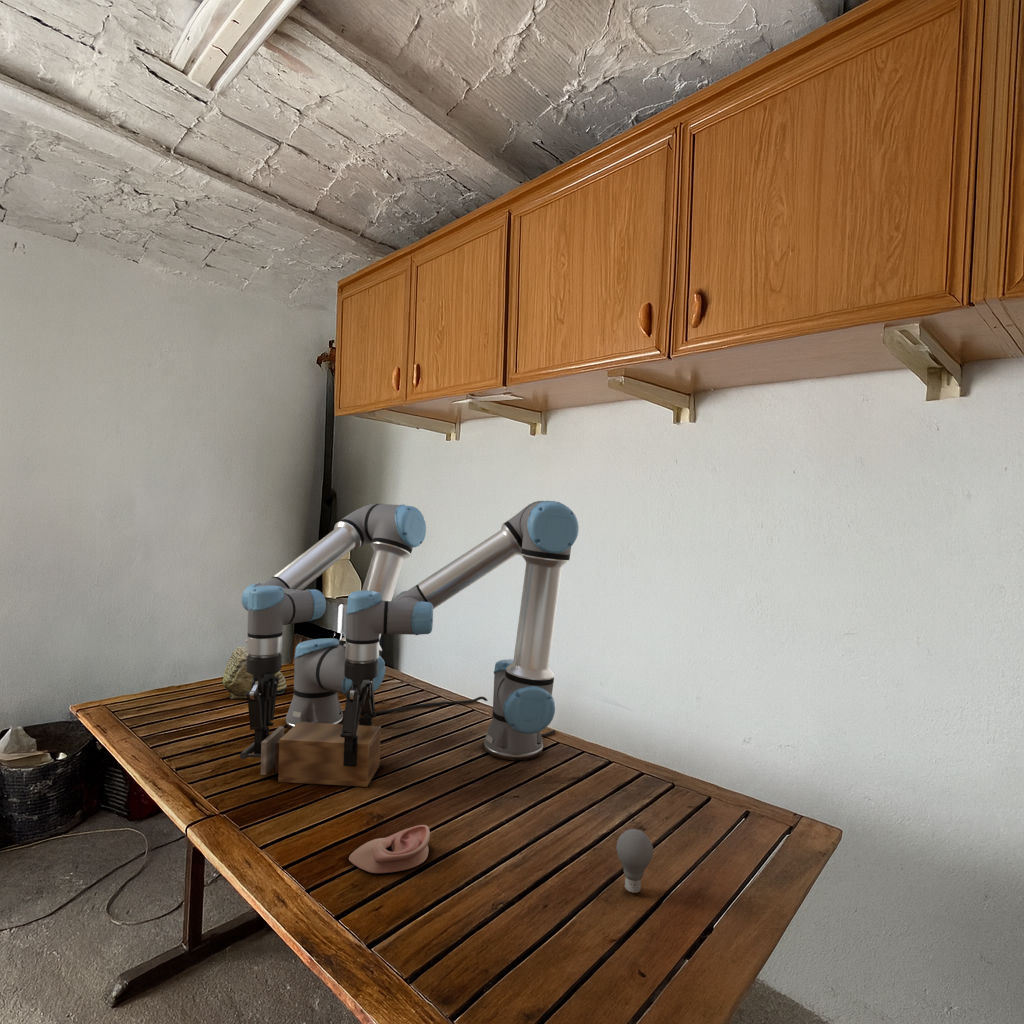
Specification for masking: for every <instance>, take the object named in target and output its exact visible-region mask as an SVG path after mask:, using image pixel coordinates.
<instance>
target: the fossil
mask: <svg viewBox="0 0 1024 1024" xmlns="http://www.w3.org/2000/svg"><path fill="white" fill-rule="evenodd" d="M248 655H249V654H248V653H247V646H246V647H245V646H238V647H237V648H236V649H235V650H233V651H232V653H231V656H230V657H229V659H228V660H227V663H226V666H225V668H224V671H223V675H222V676H223V677H222V685H223V687H224V688H225V690H226V691H228V693H229V698H230V699H247V697H246V693H247V691H251V690H252V687H251V685H252V680H253V675H252V674H250V673H248V672H247V671H246V660H247V656H248ZM275 677H279V683H278V687H277V694H276V695H281V694H284V693H285V691H286V689H287V687H288V686H287V680H286V678H285V676H284V674H283V673H282V672H281V670H280V671H278V672H276V673H275Z"/></svg>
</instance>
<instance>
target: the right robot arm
mask: <svg viewBox="0 0 1024 1024" xmlns="http://www.w3.org/2000/svg"><path fill="white" fill-rule="evenodd" d="M579 526H580V525H579V520H578V518H577V516H576V514H575V512H574V511H573V510H572V509H571V508H570V507H569V506H567V505H566V504H564V503H562V502H560V501H555V500H537V501H533V502H532V503H529V504H528V505H526V506H525V507H524V508H522V509H521V510H520V511H519V512H517V513H516V514H515V515H514V516H512V517H511V518H509V519H508V520H506V521H505V522H503V523H502V524H501V527H500V530H498V531H497V532H496V533H494V534H492V535H491V536H489V537H488V538H486V539H484V540H483V541H481V542H480V543H479V544H477V545H475V546H474V547H472V548H471V549H469V550H467V551H466V552H465V553H463V554H461V555H459V556H458V557H457V558H454V560H452V561H450V562H449V563H448V564H446V565H445V566H443V567H441V568H439V569H438V570H437V571H435V572H434V573H432V574H431V575H429V576H427V577H426V578H424V579H423V580H421V581H420V582H418V583H417V584H416V585H414V586H412V587H411V588H409V589H408V590H404V591H402V592H401V591H400V593H399V594H397V595H396V597H395V598H394V599H393V600H391V601H383V600H382V598H381V594H380V593H379V592H376V591H362V590H356V591H352V592H350V594H348V597H347V604H346V613H345V614H346V615H345V617H346V618H345V621H346V622H345V636H346V644H344V645H343V647H344V648H346V650H345V658H346V659H347V660H346V661H345V666H344V676H345V677H346V678H347V679H350V680H352V686H350V690H347V692H346V695H345V706H344V712H345V713H344V715H343V722H342V724H343V727H342V734H340V737H342V738H345V739H344V763H343V766H351V767H356V765H357V743H358V736H356V735H357V729H358V725H365V726H373V717H374V718H376V716H377V714H376V704H375V692H374V686H373V681H374V678H376V677H377V675H378V660H377V659H378V658H379V645H380V640H379V636H380V634H381V635H411V636H412V635H414V636H420V635H430V634H431V633H432V631H433V626H434V610H435V609H436V608H438V607H439V606H441V605H442V604H443V603H445V602H446V601H448V600H450V599H451V598H453V597H455V596H456V595H457V594H459V593H460V592H462V591H463V590H465V589H467V588H468V587H470V586H471V585H473V584H474V583H476V582H477V581H479V580H480V579H482V578H484V577H485V576H487V575H488V574H489V573H491V572H493V571H494V570H496V569H497V568H499V567H500V566H502V565H504V564H505V563H507V562H508V561H510V560H511V559H513V558H515V556H521V557H522V558H523V560H524V561H525V569H524V577H523V583H522V584H523V585H522V592H521V599H520V607H519V614H518V615H519V616H518V623H517V629H516V630H517V631H516V638H515V647H514V654H513V658H509V659H500V660H497V661H496V662H495V664H494V670H493V675H494V676H493V700H492V716H491V717H492V718H491V721H490V724H489V727H488V729H487V731H486V734H485V737H484V741H483V749H484V751H485V752H486V753H487V754H488V755H490V756H492V757H494V758H496V759H500V760H505V761H527V760H531V759H535V758H537V757H540V756H541V755H542V753H543V752H544V740H543V737H548V736H551V735H552V734H555V733H556V729H553V730H550V731H548V732H546V733H541V732H543V730H545V729H546V728H547V727H549V726H550V724H551V723H552V721H553V720H554V717H555V714H556V704H555V699H554V696H553V689H554V681H555V673H554V672H553V671H552V669H551V668H550V664H551V663H550V662H551V655H552V648H553V639H554V632H555V624H556V616H557V608H558V601H559V594H560V587H561V579H562V571H563V568H564V566H566V565H567V564H568V563H569V562H570V560H571V559H570V558H571V551H572V546H573V545H574V544H575V542H576V540H577V539H578V535H579V529H580V528H579ZM360 713H361V715H360ZM348 731H350V732H348Z"/></svg>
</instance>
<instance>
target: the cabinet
mask: <svg viewBox="0 0 1024 1024" xmlns="http://www.w3.org/2000/svg"><path fill="white" fill-rule="evenodd" d="M342 727H343V723H341V724H326V723H306V722H298V723H297V724H296V725H295V726H294V727H293V728H292V729H288V731H287V732H286V733H284V736H283V737H282V738H281V739H280V740H279V772H278V775H277V776H278V777H277V778H278V779H277V782H278V783H290V784H291V783H293V784H311V785H328V786H344V787H345V786H348V787H361V788H362V787H363V788H366V787H367V788H368V785H369V784H370V783H371V781H372V779H373V778H374V776H375V774H376V773H377V771H378V770H379V768H380V766H381V764H380V763H381V738H382V737H381V735H382V734H381V733H382V726H381V725H372V726H365V725H360V724H358V729H357V735H356V736H358V743H357V765H356V767H351V766H343V763H344V739H345V738H342V737H340V734H342ZM348 732H350V731H348Z"/></svg>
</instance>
